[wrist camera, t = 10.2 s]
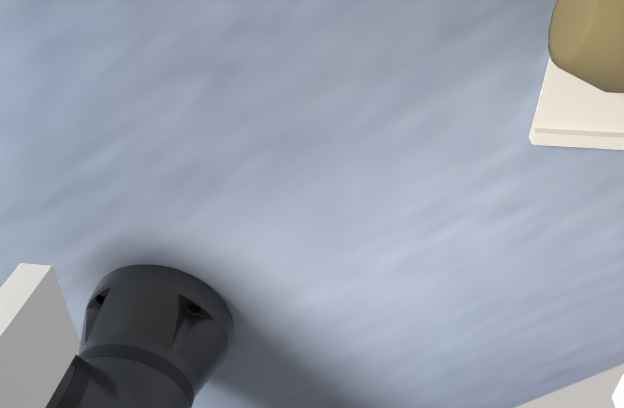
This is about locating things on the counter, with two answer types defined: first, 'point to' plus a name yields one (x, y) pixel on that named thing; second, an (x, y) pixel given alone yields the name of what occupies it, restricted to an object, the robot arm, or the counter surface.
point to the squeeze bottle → (589, 41)
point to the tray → (577, 114)
